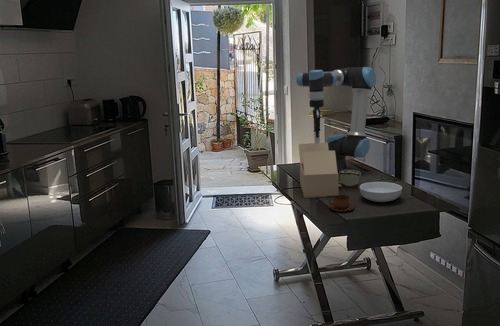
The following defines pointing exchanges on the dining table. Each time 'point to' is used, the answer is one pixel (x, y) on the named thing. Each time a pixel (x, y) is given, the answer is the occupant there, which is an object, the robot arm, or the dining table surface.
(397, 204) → the dining table surface
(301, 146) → the flap
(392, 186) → the serving bowl
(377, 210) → the dining table surface
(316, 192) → the carton
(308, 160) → the flap
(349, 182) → the food container
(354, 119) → the robot arm
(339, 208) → the cup and saucer
